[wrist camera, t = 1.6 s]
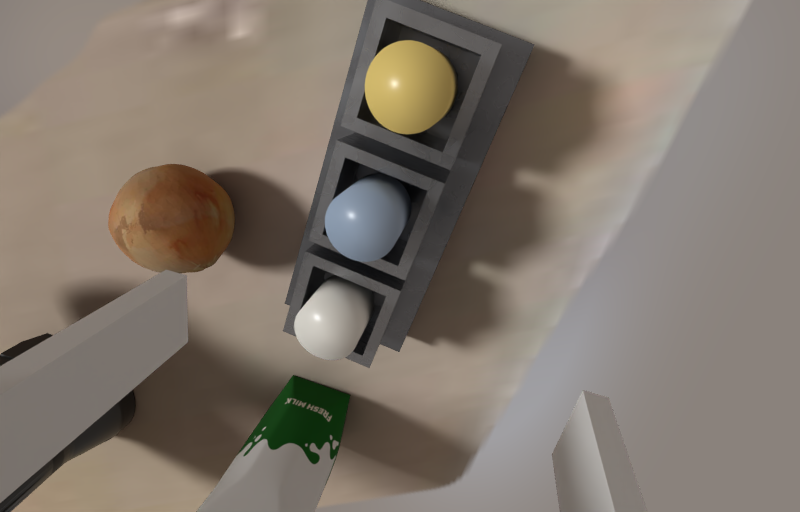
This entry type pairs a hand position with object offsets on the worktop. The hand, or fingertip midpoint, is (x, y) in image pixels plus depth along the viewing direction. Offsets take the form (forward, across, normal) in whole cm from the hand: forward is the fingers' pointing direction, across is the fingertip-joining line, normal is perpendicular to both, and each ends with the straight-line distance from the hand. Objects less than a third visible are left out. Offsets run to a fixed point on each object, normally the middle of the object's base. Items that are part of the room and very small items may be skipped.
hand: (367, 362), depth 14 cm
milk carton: (+26, -9, -29) cm, 40 cm away
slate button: (+20, -5, -1) cm, 20 cm away
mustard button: (+20, -3, +7) cm, 21 cm away
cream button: (+20, -6, -10) cm, 23 cm away
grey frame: (+26, -5, -2) cm, 26 cm away
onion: (+26, -23, -8) cm, 35 cm away
